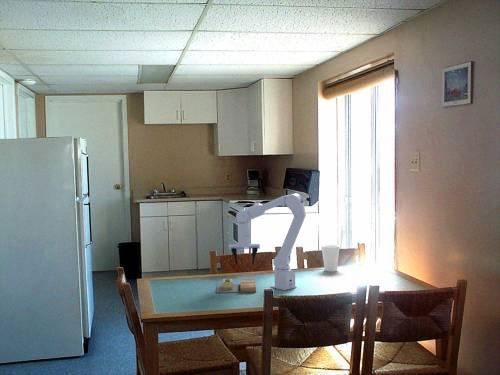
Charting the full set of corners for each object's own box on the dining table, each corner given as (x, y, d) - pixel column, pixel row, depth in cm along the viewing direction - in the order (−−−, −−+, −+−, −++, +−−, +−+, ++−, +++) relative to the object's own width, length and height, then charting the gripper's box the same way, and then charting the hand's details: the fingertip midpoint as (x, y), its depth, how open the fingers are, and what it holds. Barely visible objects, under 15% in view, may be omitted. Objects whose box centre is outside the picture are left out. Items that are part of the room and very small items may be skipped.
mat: (238, 292, 264) (238, 291, 264) (216, 293, 264) (216, 292, 264) (238, 284, 280) (238, 283, 280) (217, 285, 280) (217, 284, 280)
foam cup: (340, 271, 305) (340, 247, 304) (323, 272, 305) (322, 247, 304) (338, 268, 314) (338, 244, 314) (321, 268, 315) (320, 244, 314)
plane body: (256, 292, 263) (255, 287, 263) (240, 293, 263) (240, 287, 263) (255, 283, 281) (255, 278, 281) (240, 284, 281) (240, 278, 281)
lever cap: (232, 289, 269) (232, 280, 268) (222, 289, 268) (222, 280, 268) (232, 285, 276) (232, 277, 275) (222, 286, 275) (222, 277, 275)
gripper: (259, 233, 281) (259, 262, 281) (228, 234, 280) (229, 262, 281) (259, 235, 273) (260, 264, 274) (228, 236, 273) (229, 265, 274)
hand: (244, 264), depth 277 cm, fingers open, 7 cm apart
